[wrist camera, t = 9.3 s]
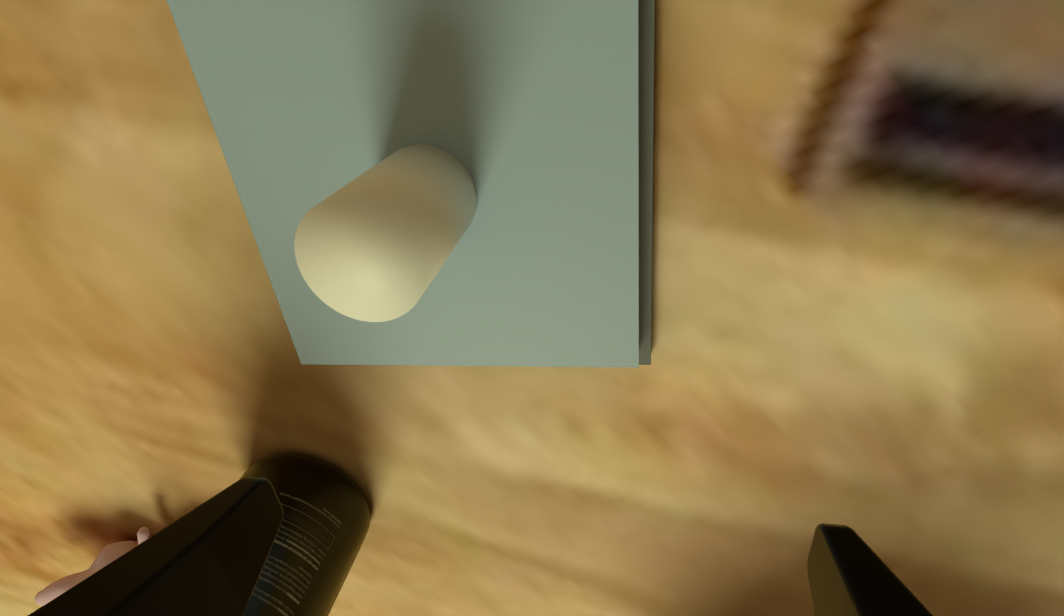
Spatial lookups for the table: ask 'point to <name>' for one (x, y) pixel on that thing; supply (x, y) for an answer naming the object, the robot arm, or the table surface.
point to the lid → (434, 172)
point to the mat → (645, 170)
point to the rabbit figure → (102, 560)
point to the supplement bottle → (308, 537)
